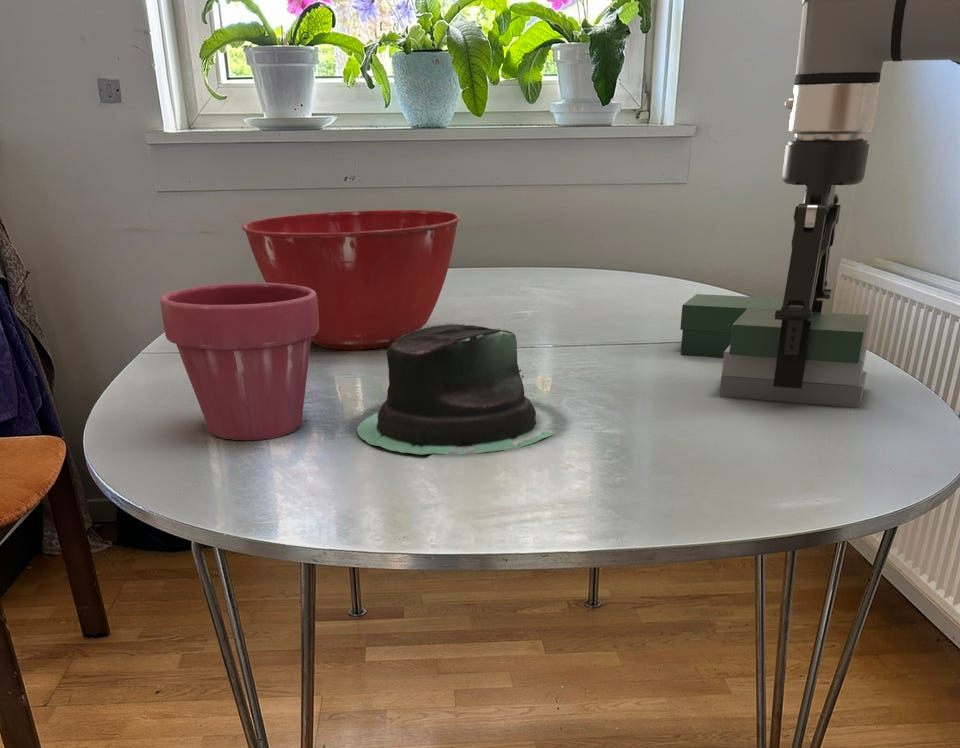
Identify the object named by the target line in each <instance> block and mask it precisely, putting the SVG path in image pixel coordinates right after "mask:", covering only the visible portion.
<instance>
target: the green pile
mask: <svg viewBox="0 0 960 748" xmlns="http://www.w3.org/2000/svg"><path fill="white" fill-rule="evenodd" d="M783 301H784V297H767V296H766V297H764V296H744V295H743V296H742V295H726V294H725V295H723V294H703V293H696V294H695V295H693V296H692V297H690V298H689V299H688V300H686V301H685V302H684V303H682V305H681V316H680V317H681V318H680V328H679V329H680V331H682V333H681V343H680V344H681V345H680V355H681V356H683V355H684V356H697V357H698V356H699V357H712V358H724V351H725V350H726V349H727V348H728V347H729V346H730V343H731V334H732V325H733V324H734V323H735V322H736V320H737V319H738V318H739V317H740V316H741V315H742V314H743V313H744V312H745V311H746V310H747V309H765V310H781V307H782V306H783Z"/></svg>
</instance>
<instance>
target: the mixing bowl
mask: <svg viewBox="0 0 960 748" xmlns="http://www.w3.org/2000/svg"><path fill="white" fill-rule="evenodd" d="M460 220H461V216H460V214H457V213H454V212H450V211H441V210H426V209H379V210H376V209H375V210H374V209H373V210H347V211H330V212H329V211H328V212H315V213H303V214H292V215H283V216H274V217H268V218H262V219H256V220H252V221H248V222H246V223H244V224H243V225H241V229H242V231H243V232H245V235H246V238H247V242H248V243H249V246H250V249H251V252H252V254H253V257H254V259H255V262H256V264H257V267H258V269H259V272H260V273H261V275H262V278H263V280H264V283H278V284H290V285H297V286H303V287H307V288H310V289H312V290H314V291H315V292H316V296H317V304H318V316H319V331H318V333H317V334H316V335H314V336H312V337H311V341H310V342H312V343H314V344H315V345H316V346H318V347H321V348H325V349H333V350H369V349H370V350H372V349H380V348H388V347H390V346H391V344H392V343H394V342H395V341H396V340H397V339H398V338H400V337H401V336H403V335H406V334H408V333H411V332H413V331H416V330H420V329H423V328H424V326H425V325H426V324H427V322H428V321H429V319H430V318H431V316H432V314H433V312H434V309H435V308H436V305H437V302H438V300H439V298H440V295H441V292H442V290H443V287H444V283H445V280H446V277H447V273H448V270H449V267H450V263H451V258H452V254H453V249H454V244H455V239H456V233H457V226H458V222H459V221H460Z"/></svg>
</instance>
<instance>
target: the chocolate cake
mask: <svg viewBox="0 0 960 748" xmlns="http://www.w3.org/2000/svg"><path fill="white" fill-rule="evenodd" d="M387 348H388V349H387V350H386V360H387V367H388V387H387V393H386V400H385V401H384V402H383V403H382V405H381V407H380V409H379V411H378V412H376V413H374V414H372V415H371V416H368V417H367V418H366V419H364V420H363V421H361V422H360V423H359V425H358V426H357V427H356V432H357V434H358V437H359V438H360V439H362V440H364V441H365V442H366V443H367V444H369V445H372V446H378V447H381V448H383V449H385V450H388V451H391V452H399V453H403V454H405V453H406V454H407V453H408V454H414V455H430V454H432V455H433V454H439V455H449V454H450V453H451V450H453V449H455V448H459V447H473V448H474V449H473V451H474V452H473V455H477V454H482V453H488V452H489V453H490V452H497V451H508V450H514V449H520V448H522V447H525V446H528V445H531V444H534V443H536V442H538V441H541V440H543V439H546V438H549V437H551V436H552V435H555V434H556V432H554V431H552V430H548V431H547V430H544V431H541V433H540V434H539V435H538V436H532V437H530V438H528V439H527V438H526V439H524V440H523V441H521V442H520V441H519V442H517V444H514V440H515V439H522V438H524V437H525V436H527V435H529V433H531V432H533V431H534V429H535V428H536V425H537V420H536V419H537V413H536V412H537V411H536V408H535V407H534V405H533V403H532V401H531V400H530V399H529V398H528V397H527V396H525V395H526V394H525V386H524V383H523V378H524V375H522V374H521V372H522V369H520V367H519V365H518V364H519V363H518V340H517V335H516V334H515V333H514V332H513V331H510V330H505V329H500V327H496V328H495V327H494V328H490V327H485V326H477V325H473V324H469V325H468V324H464V323H462V324H459V323H452V322H451V323H446V324H437V325H430V326H428V327H422V328H421V329H420V330H416V331H413V332H411V333H408V334H406V335H403V336H401V337H400V338H398V339H397V340H396V341H395V342H394V343H392V344H391V346H388V347H387ZM456 455H467V451H466V450H464V449H462V450H460V451H458V452H457V453H456Z"/></svg>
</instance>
